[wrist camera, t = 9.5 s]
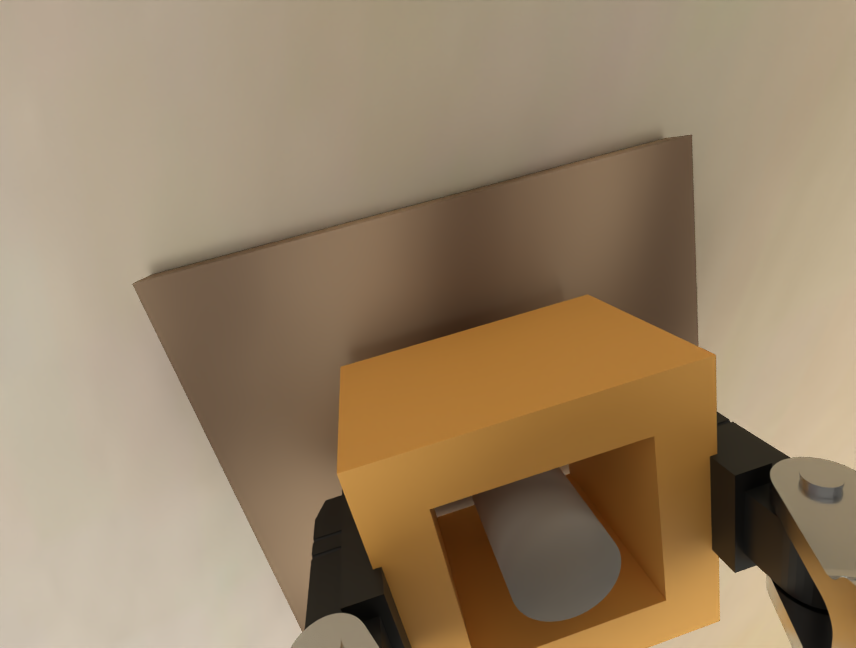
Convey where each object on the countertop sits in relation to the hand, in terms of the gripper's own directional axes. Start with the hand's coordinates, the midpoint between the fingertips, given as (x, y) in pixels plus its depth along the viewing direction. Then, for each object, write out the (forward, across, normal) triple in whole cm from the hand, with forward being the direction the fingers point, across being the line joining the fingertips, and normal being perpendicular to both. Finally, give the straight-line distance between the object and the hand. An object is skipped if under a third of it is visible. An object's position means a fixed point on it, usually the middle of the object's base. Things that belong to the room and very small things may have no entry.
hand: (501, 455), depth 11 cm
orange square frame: (+1, 0, 0) cm, 1 cm away
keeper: (+3, 0, 0) cm, 3 cm away
